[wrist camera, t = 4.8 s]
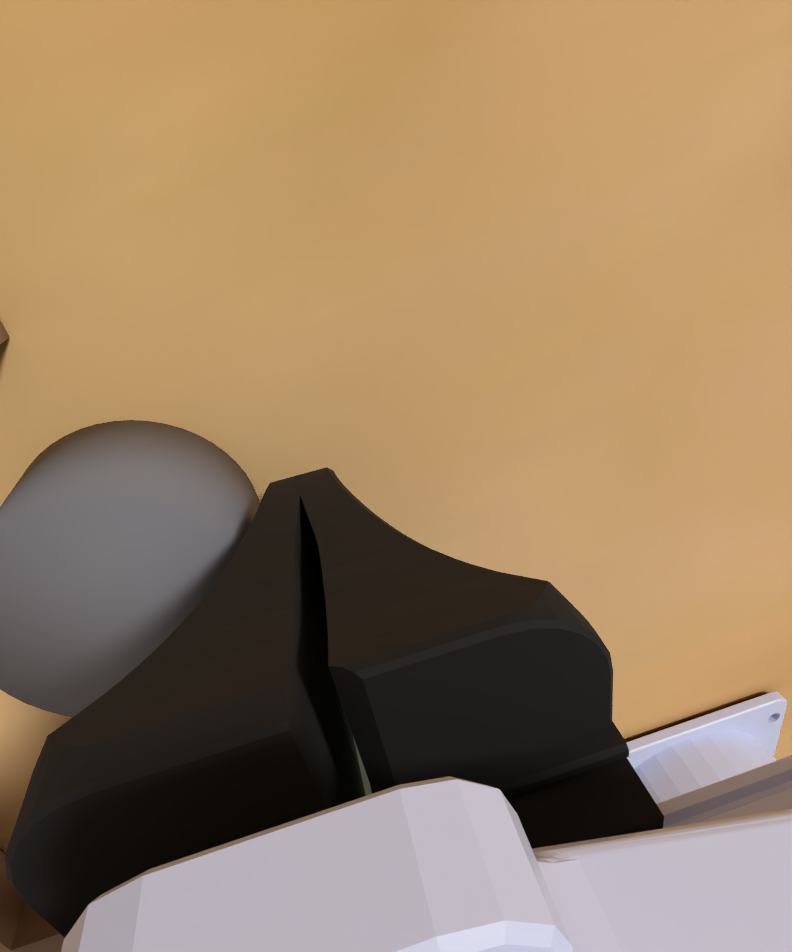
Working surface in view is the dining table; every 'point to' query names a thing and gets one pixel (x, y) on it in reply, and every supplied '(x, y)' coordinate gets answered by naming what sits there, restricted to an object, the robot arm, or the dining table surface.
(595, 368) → the dining table surface
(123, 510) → the puck
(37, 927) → the brown angular piece
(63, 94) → the dining table surface
